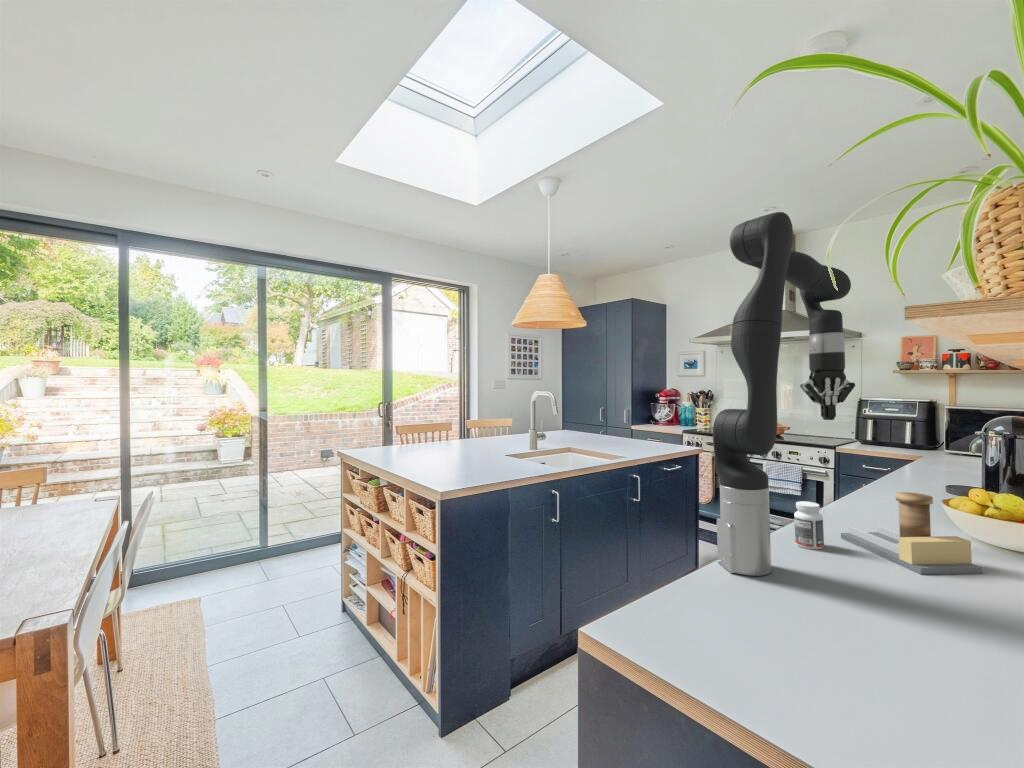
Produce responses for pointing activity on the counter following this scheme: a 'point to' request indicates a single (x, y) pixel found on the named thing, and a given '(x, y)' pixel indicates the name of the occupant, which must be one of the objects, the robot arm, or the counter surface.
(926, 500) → the knob
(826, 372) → the robot arm
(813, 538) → the pill bottle
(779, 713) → the counter surface
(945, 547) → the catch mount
